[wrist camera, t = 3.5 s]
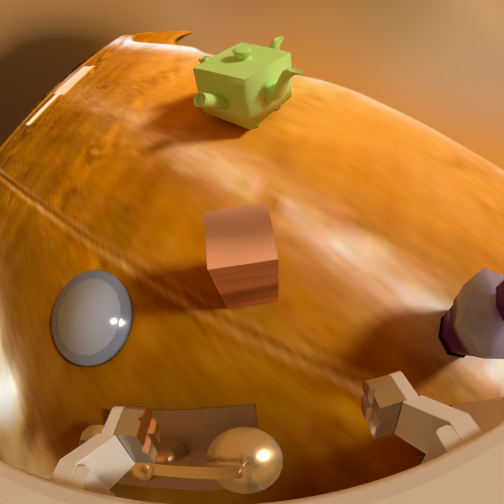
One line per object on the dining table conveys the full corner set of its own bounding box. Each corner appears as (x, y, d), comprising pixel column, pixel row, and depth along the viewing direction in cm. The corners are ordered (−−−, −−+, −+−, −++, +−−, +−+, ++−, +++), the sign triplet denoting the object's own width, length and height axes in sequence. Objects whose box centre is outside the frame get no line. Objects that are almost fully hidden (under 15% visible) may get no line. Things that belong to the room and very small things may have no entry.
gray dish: (133, 366, 27) (129, 364, 26) (53, 365, 27) (48, 364, 26) (134, 267, 32) (131, 264, 31) (60, 278, 32) (56, 276, 31)
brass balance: (286, 480, 21) (292, 525, 11) (108, 479, 21) (40, 497, 11) (275, 401, 24) (274, 402, 15) (100, 408, 25) (27, 400, 15)
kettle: (284, 83, 47) (283, 29, 37) (308, 130, 40) (312, 63, 31) (200, 96, 47) (187, 42, 37) (204, 146, 40) (188, 80, 30)
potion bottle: (492, 361, 23) (567, 330, 12) (432, 380, 23) (509, 359, 13) (477, 289, 27) (539, 237, 16) (419, 300, 27) (479, 243, 17)
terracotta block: (278, 300, 29) (278, 259, 21) (227, 308, 29) (207, 269, 21) (270, 255, 31) (267, 202, 23) (222, 262, 31) (204, 212, 23)
